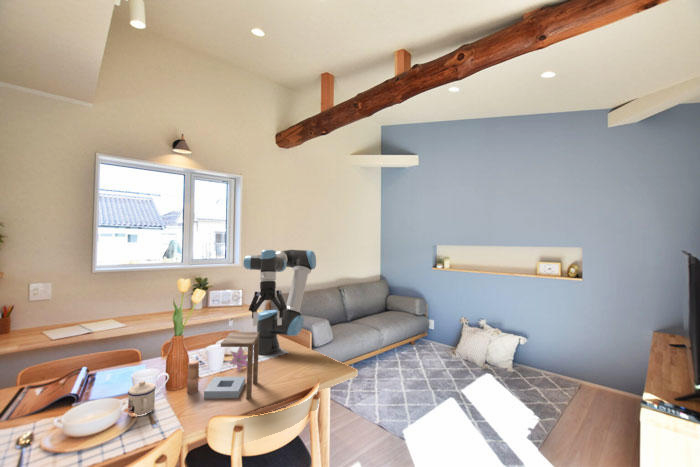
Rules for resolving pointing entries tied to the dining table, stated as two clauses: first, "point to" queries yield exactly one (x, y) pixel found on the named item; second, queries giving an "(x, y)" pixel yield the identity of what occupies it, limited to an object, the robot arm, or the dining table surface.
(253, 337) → the brown frame
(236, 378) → the socket
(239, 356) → the lily
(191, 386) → the peg
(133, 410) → the teacup with lid
